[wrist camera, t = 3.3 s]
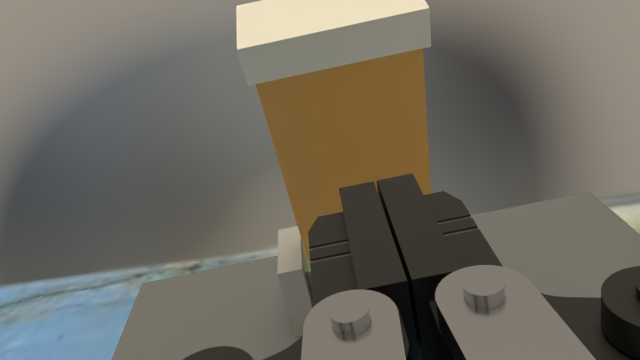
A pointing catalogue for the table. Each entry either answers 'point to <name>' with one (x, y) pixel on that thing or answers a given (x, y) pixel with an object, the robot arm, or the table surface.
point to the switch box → (296, 290)
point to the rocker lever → (339, 93)
